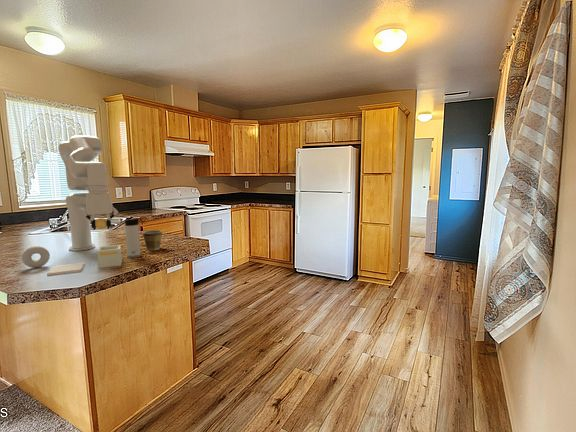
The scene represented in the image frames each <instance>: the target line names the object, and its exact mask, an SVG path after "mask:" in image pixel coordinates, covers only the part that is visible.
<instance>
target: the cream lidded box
mask: <svg viewBox="0 0 576 432" xmlns="http://www.w3.org/2000/svg"><path fill="white" fill-rule="evenodd" d="M96 251H97V252H96V253H97V263H98V269H102V268H103V269H104V268H111V267H112V268H113V267H121V266H122V264H123V263H122V262H123V259H122V258H123V257H122V245H121V244H117V245H105V246H99V247H98V249H97V250H96Z"/></svg>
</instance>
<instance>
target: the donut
mask: <svg viewBox="0 0 576 432" xmlns="http://www.w3.org/2000/svg"><path fill="white" fill-rule="evenodd" d="M35 254H38V255H39V256H40V257H39V259H36V260H35V259H33V258H32V257H33V255H35ZM50 258H51V257H50V252H49V250H48V249H47V248H45V247H43V246H39V245H35V246H31V247H28V248H27V249H26V250H25V251H23V253H22V255H21V261H22V263H23V264H24V265H25V266H26V267H28V268H32V269H33V268H34V269H35V268H36V269H37V268H40V267H43V266H45V265H46V264H47V263H49V260H50Z"/></svg>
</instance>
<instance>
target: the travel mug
mask: <svg viewBox="0 0 576 432" xmlns="http://www.w3.org/2000/svg"><path fill="white" fill-rule="evenodd" d="M139 227H140V225H139V218H138V217H137V218H132V219H130V218H129V219H127V220H124V228H125V240H126V241H125V242H126V243H125V244H126V254H127V255H126V256H127V258H131V259H134V258H139V257H141V255H142V254H141V242H140V241H141V240H140V239H141V238H140V228H139Z"/></svg>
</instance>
